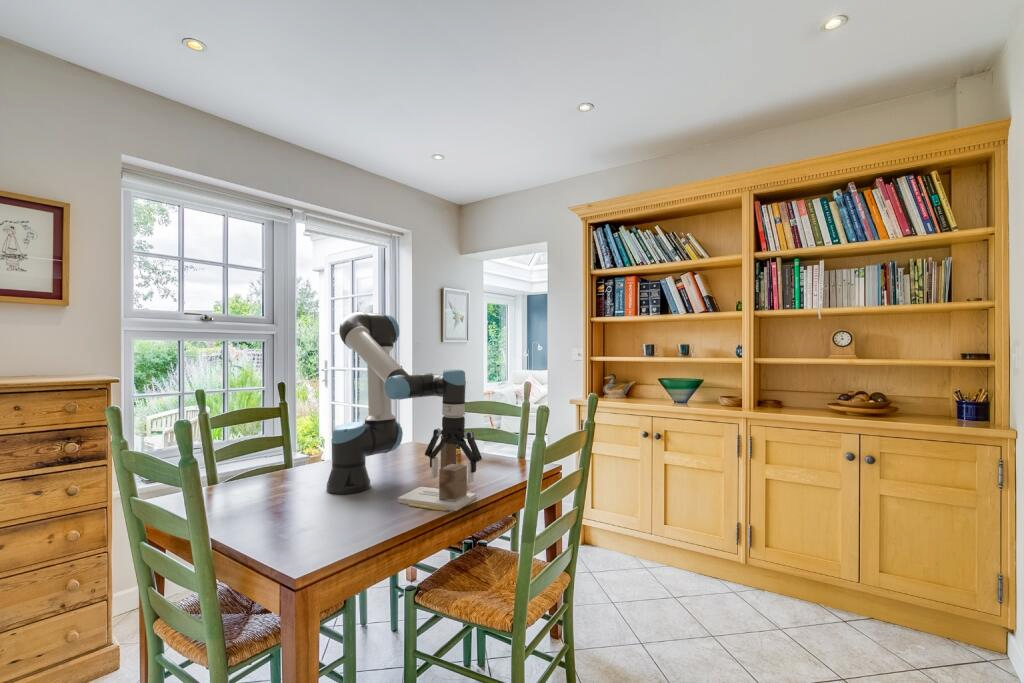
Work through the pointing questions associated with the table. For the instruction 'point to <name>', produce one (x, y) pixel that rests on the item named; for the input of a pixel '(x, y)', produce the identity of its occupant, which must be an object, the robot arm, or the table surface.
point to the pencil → (429, 507)
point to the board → (433, 499)
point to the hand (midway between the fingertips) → (452, 479)
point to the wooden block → (448, 454)
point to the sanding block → (452, 482)
